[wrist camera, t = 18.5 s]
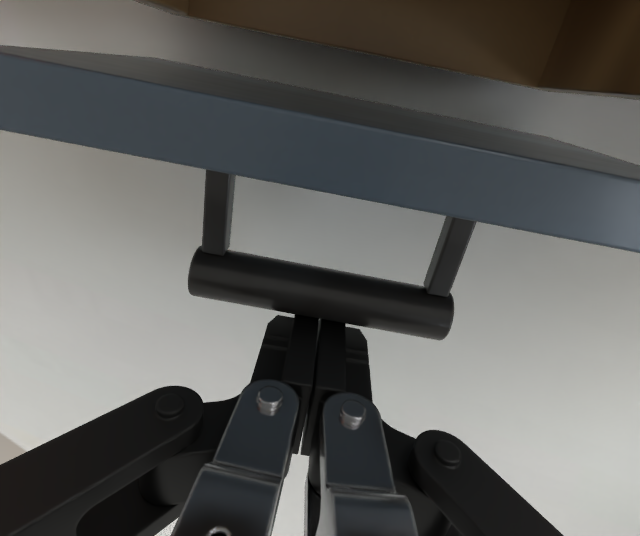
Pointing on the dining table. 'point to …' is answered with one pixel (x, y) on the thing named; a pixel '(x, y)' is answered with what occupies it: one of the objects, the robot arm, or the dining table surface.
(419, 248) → the dining table surface
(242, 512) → the robot arm
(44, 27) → the dining table surface
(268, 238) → the dining table surface
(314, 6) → the drawer
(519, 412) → the dining table surface
